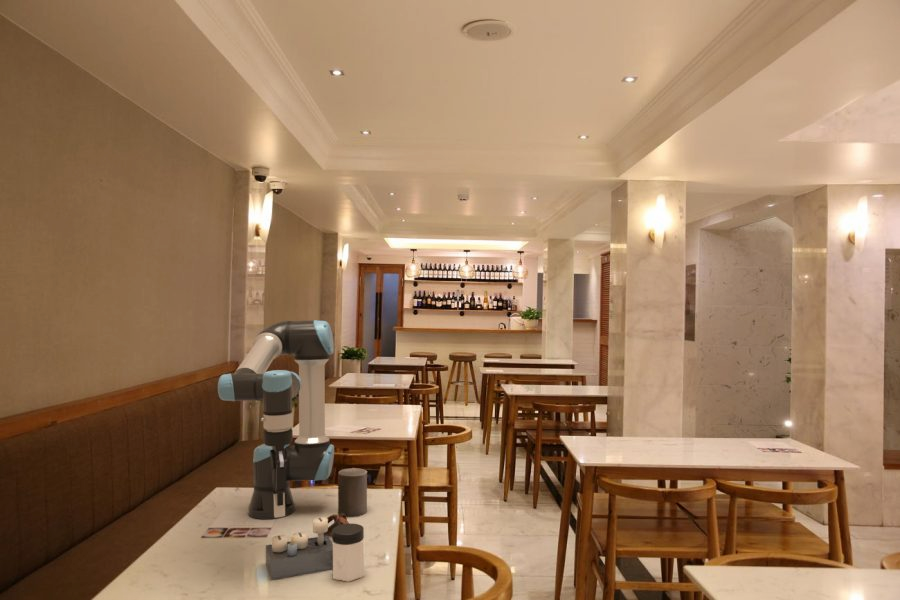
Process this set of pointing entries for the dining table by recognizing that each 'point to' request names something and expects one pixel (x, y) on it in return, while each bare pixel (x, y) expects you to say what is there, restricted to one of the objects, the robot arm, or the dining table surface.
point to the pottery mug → (336, 522)
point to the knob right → (320, 528)
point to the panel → (300, 559)
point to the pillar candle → (352, 492)
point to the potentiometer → (292, 548)
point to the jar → (348, 552)
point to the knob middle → (301, 540)
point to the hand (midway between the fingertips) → (279, 515)
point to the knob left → (279, 543)
